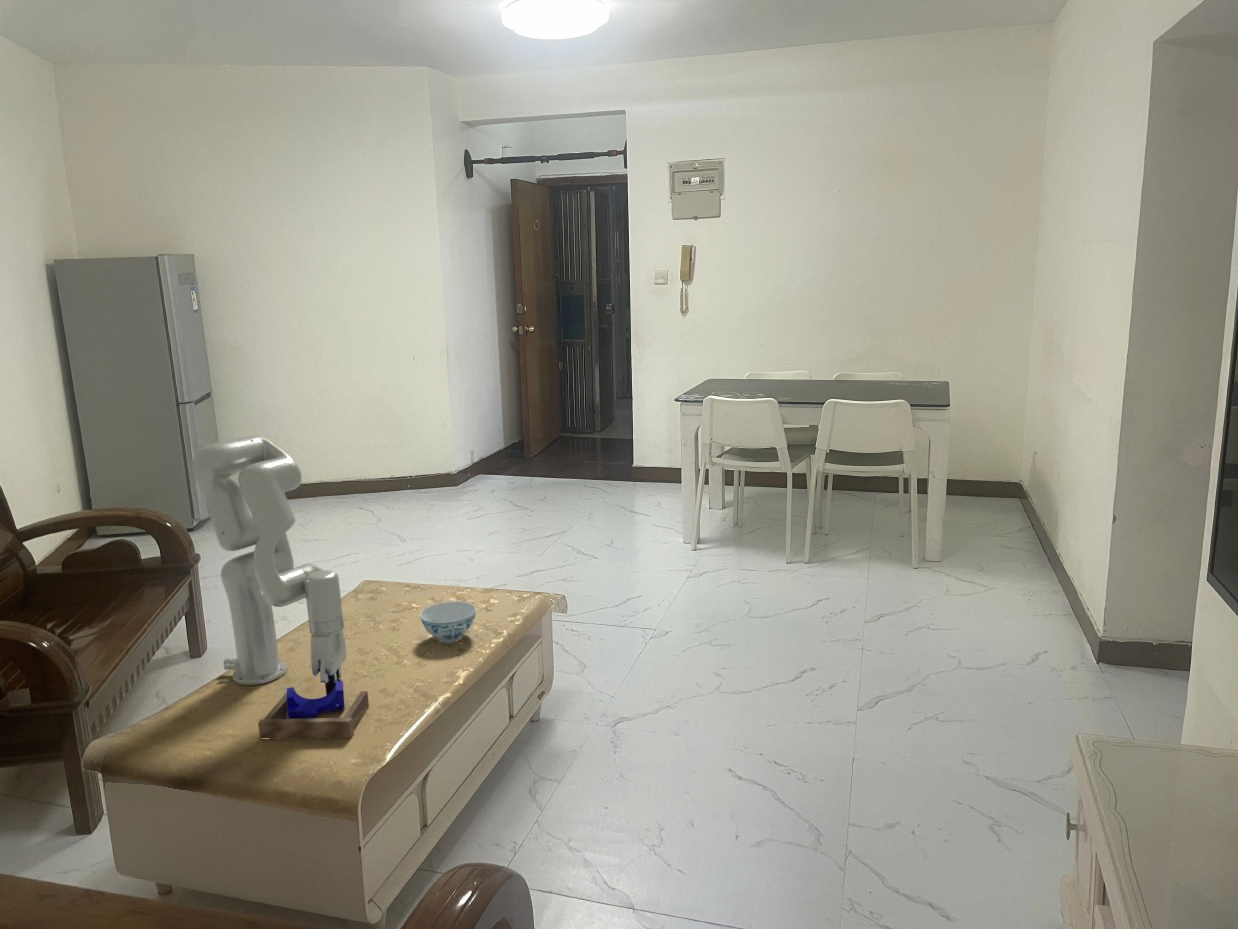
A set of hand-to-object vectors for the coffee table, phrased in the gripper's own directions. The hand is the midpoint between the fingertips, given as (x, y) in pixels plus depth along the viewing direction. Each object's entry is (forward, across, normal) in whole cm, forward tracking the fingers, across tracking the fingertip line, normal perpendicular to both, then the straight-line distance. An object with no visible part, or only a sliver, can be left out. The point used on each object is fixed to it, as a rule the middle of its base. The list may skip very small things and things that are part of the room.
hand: (334, 696), depth 200 cm
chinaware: (+1, -34, +19) cm, 39 cm away
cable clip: (0, +7, -1) cm, 7 cm away
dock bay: (0, +11, 0) cm, 11 cm away
